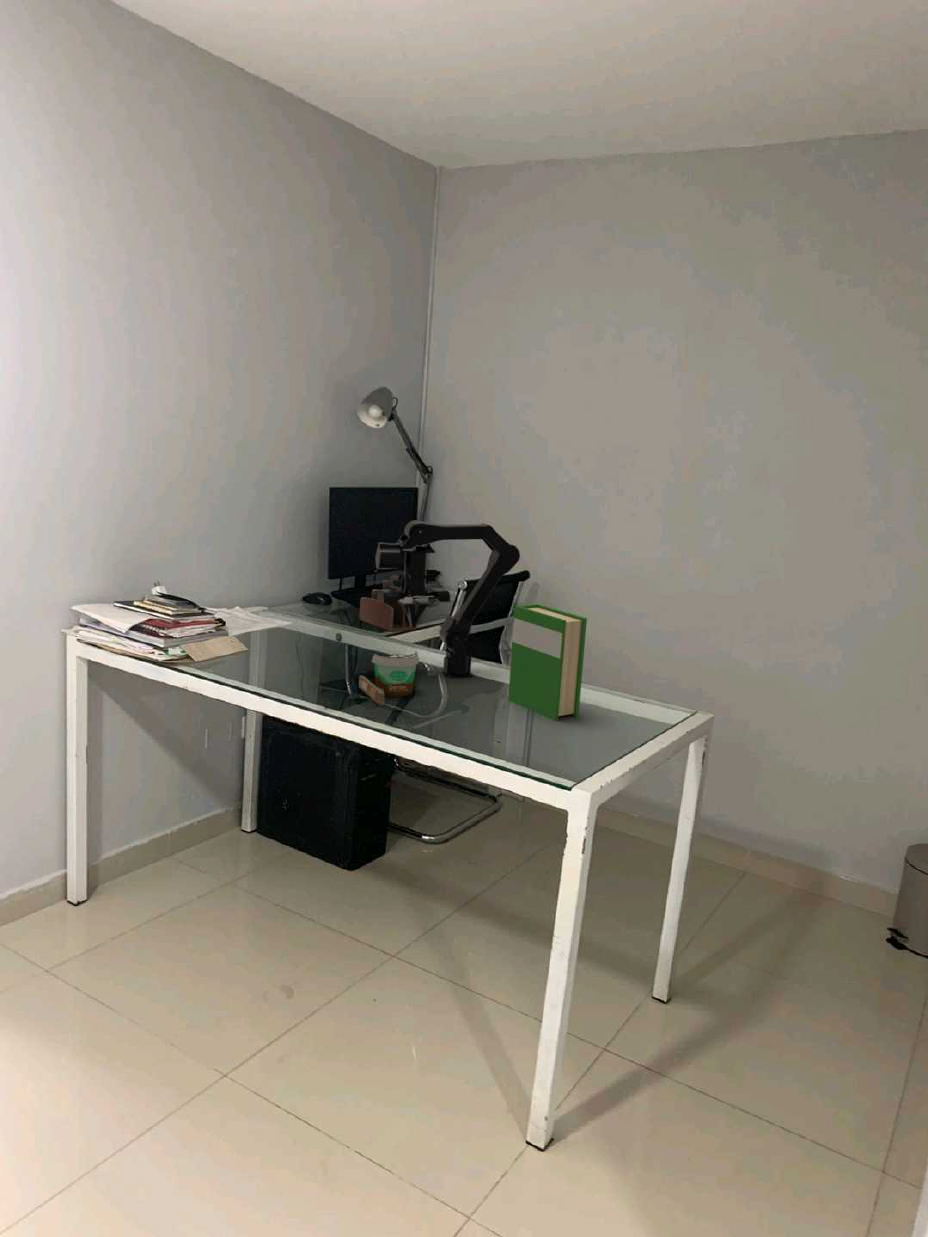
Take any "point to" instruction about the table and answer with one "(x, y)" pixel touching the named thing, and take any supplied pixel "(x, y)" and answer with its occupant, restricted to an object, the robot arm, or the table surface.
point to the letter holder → (384, 612)
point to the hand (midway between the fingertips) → (412, 627)
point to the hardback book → (547, 660)
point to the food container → (395, 673)
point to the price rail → (371, 690)
